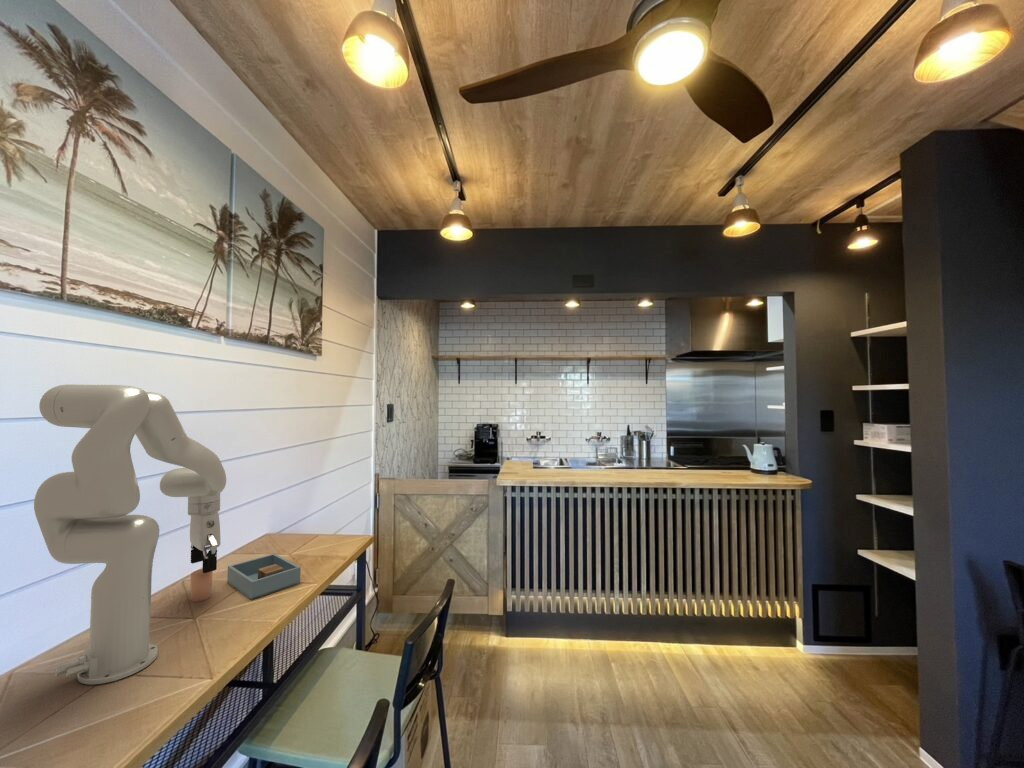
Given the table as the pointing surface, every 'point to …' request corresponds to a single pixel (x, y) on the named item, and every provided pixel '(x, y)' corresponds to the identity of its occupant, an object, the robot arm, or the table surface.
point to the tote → (253, 588)
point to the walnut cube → (269, 571)
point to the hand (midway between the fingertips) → (203, 566)
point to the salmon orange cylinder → (200, 586)
